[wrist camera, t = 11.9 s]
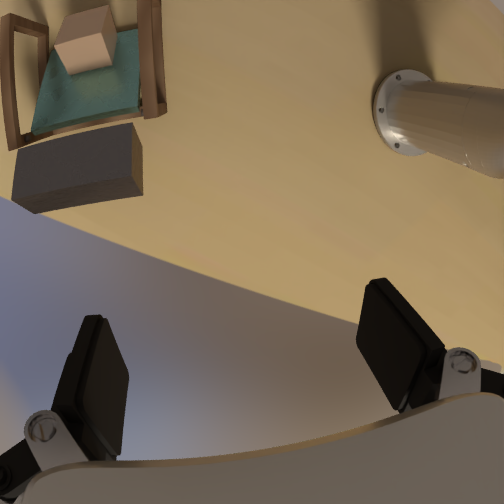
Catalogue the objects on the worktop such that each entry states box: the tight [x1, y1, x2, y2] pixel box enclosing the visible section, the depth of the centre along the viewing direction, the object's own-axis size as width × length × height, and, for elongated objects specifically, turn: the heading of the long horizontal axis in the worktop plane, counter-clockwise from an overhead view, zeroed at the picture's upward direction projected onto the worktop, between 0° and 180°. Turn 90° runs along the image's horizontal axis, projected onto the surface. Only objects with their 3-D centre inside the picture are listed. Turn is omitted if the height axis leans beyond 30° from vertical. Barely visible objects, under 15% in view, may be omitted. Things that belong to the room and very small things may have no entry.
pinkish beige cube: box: [54, 5, 118, 76], centre depth 25 cm, size 5×5×5 cm
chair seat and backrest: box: [11, 29, 143, 214], centre depth 26 cm, size 12×20×4 cm
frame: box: [0, 0, 167, 151], centre depth 25 cm, size 16×14×10 cm
